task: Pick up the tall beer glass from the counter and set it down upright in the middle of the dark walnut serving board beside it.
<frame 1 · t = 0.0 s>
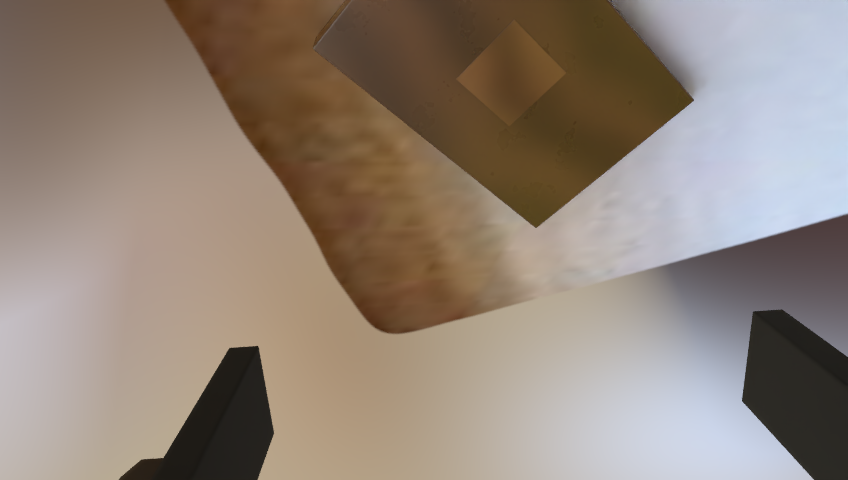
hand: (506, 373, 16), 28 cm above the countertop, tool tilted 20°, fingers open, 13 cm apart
serving board: (506, 64, 39), on the countertop
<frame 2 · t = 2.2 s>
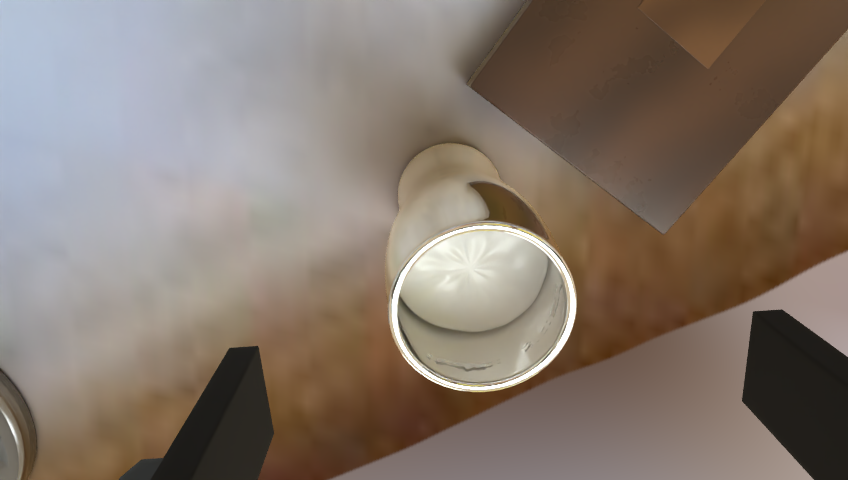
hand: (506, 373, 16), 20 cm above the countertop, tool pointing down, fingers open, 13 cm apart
beer glass: (449, 193, 34), on the countertop
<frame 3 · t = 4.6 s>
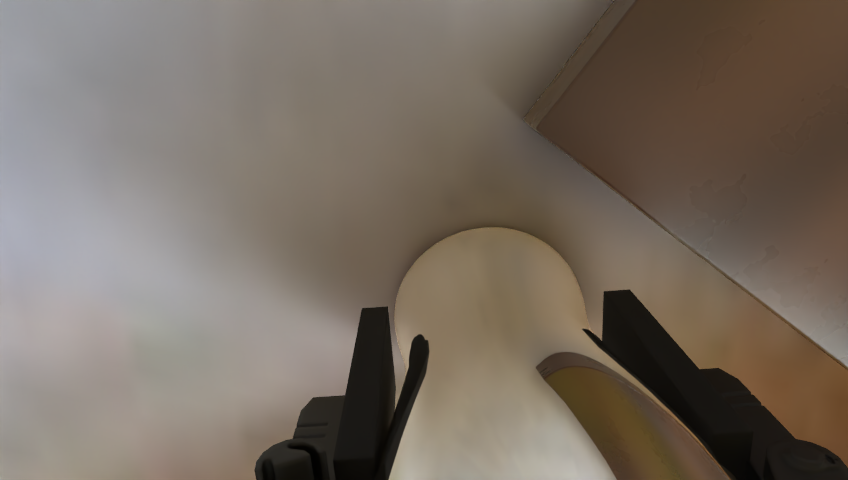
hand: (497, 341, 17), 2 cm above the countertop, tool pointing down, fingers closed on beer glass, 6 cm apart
beer glass: (486, 310, 19), on the countertop, touching gripper
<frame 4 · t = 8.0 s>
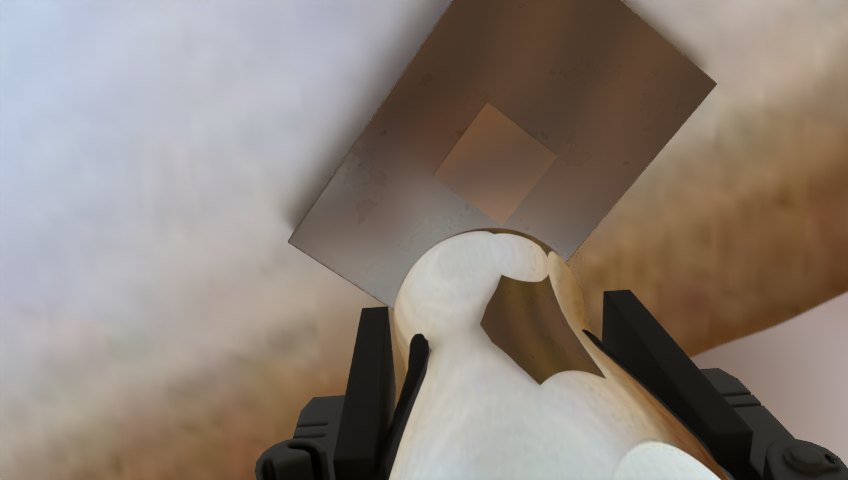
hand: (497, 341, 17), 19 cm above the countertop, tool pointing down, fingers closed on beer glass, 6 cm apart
beer glass: (486, 311, 19), point 17 cm above the countertop, touching gripper
serving board: (490, 159, 34), on the countertop
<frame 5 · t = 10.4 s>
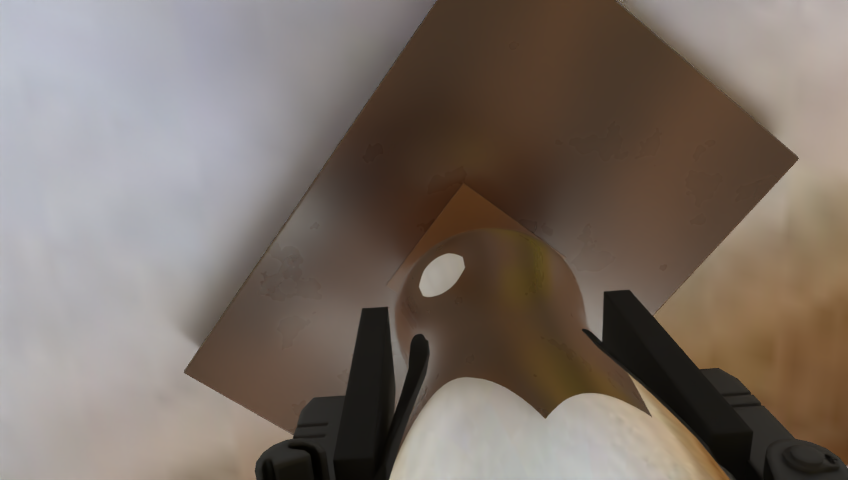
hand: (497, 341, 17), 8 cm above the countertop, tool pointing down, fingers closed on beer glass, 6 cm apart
beer glass: (486, 311, 19), point 6 cm above the countertop, touching gripper
serving board: (470, 253, 25), on the countertop
when the fingers open (4 cm above the countertop, at t = 11.7 s): beer glass stays where it is, resting on serving board.
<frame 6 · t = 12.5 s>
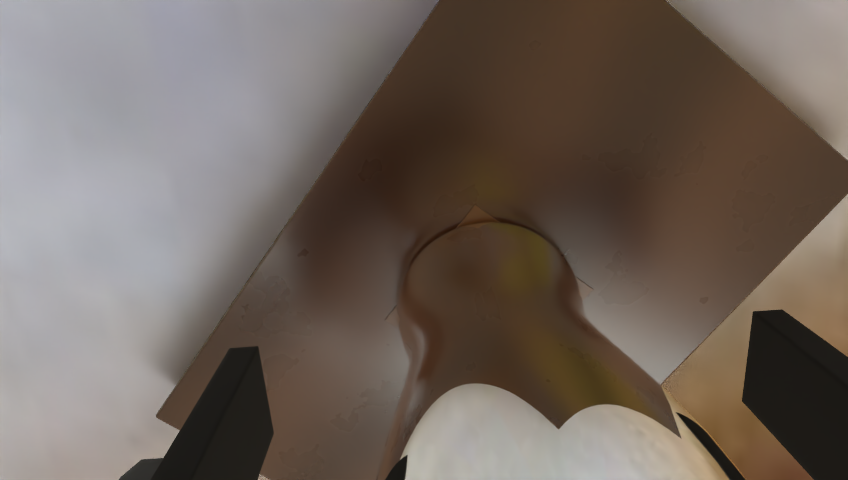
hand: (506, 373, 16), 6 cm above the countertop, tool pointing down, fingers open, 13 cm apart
beer glass: (486, 303, 20), point 2 cm above the countertop, touching serving board
serving board: (481, 281, 22), on the countertop
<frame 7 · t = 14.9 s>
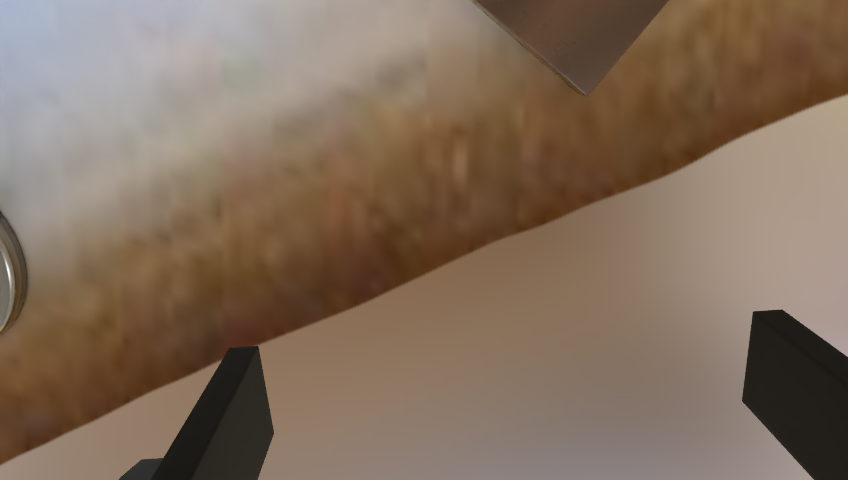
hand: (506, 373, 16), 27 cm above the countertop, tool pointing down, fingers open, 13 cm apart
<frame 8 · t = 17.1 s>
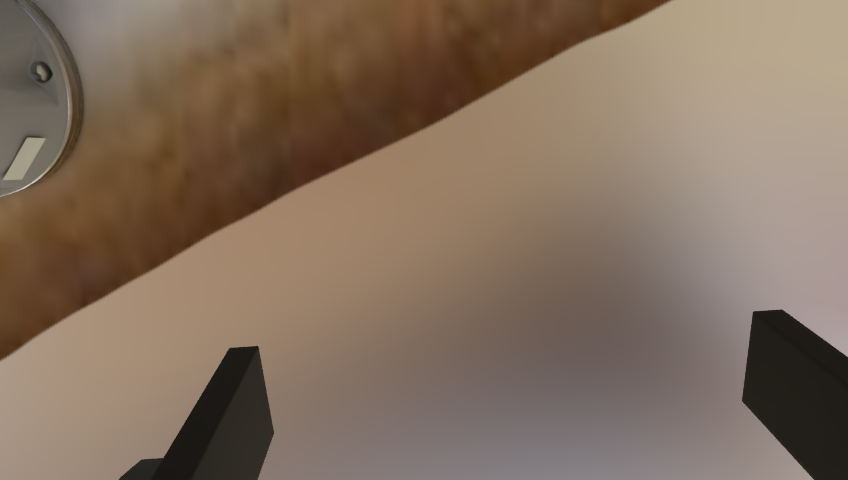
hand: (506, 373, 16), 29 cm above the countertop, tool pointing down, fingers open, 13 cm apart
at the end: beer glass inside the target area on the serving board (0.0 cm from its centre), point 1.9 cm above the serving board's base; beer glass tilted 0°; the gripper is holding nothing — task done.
